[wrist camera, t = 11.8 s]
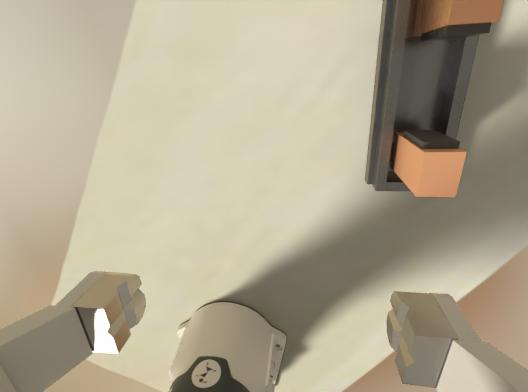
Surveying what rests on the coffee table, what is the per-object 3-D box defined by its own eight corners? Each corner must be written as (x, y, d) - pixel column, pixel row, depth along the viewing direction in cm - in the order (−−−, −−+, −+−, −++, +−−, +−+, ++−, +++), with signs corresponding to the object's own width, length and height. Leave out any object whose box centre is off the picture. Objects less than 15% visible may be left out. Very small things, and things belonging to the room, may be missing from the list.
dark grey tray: (435, 179, 33) (480, 217, 25) (364, 179, 35) (384, 216, 26) (478, -30, 25) (567, -80, 17) (385, -21, 27) (423, -64, 18)
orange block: (421, 167, 32) (455, 197, 24) (391, 168, 32) (416, 196, 25) (428, 126, 30) (468, 144, 23) (396, 126, 30) (425, 145, 23)
